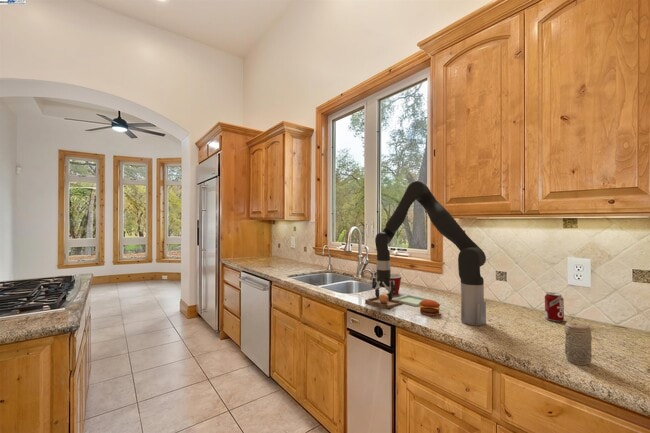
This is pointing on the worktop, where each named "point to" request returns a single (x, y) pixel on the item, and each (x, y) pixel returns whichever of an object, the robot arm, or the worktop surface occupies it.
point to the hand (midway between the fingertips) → (383, 298)
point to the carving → (578, 343)
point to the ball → (383, 298)
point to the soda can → (554, 307)
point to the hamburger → (429, 307)
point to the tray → (387, 305)
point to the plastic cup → (396, 282)
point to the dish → (411, 300)
